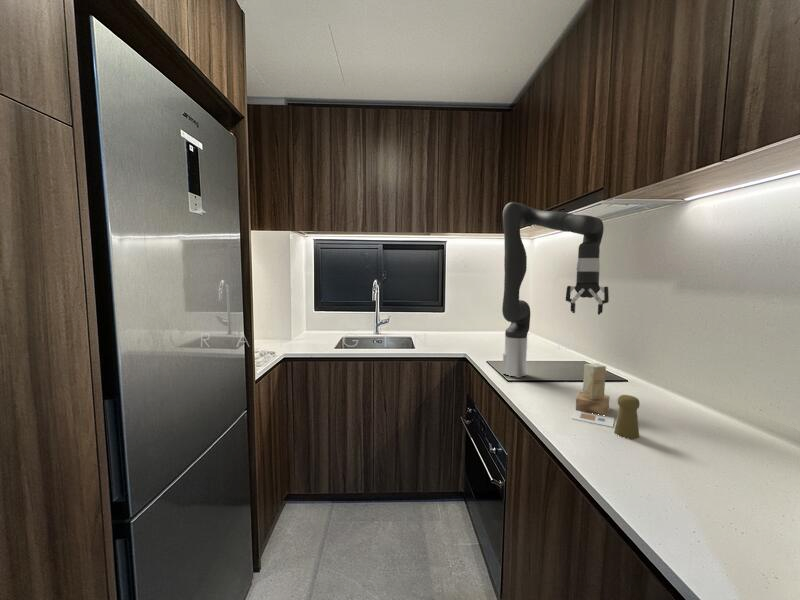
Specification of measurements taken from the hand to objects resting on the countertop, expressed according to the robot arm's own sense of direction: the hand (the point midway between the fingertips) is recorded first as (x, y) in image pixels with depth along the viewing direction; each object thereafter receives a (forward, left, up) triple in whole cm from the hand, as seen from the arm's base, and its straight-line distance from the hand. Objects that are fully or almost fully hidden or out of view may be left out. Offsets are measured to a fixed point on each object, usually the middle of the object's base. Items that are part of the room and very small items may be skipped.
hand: (586, 313), depth 135 cm
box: (+5, -18, -26) cm, 32 cm away
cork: (+15, -34, -30) cm, 48 cm away
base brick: (+5, -18, -30) cm, 35 cm away
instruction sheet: (+6, -27, -30) cm, 41 cm away
